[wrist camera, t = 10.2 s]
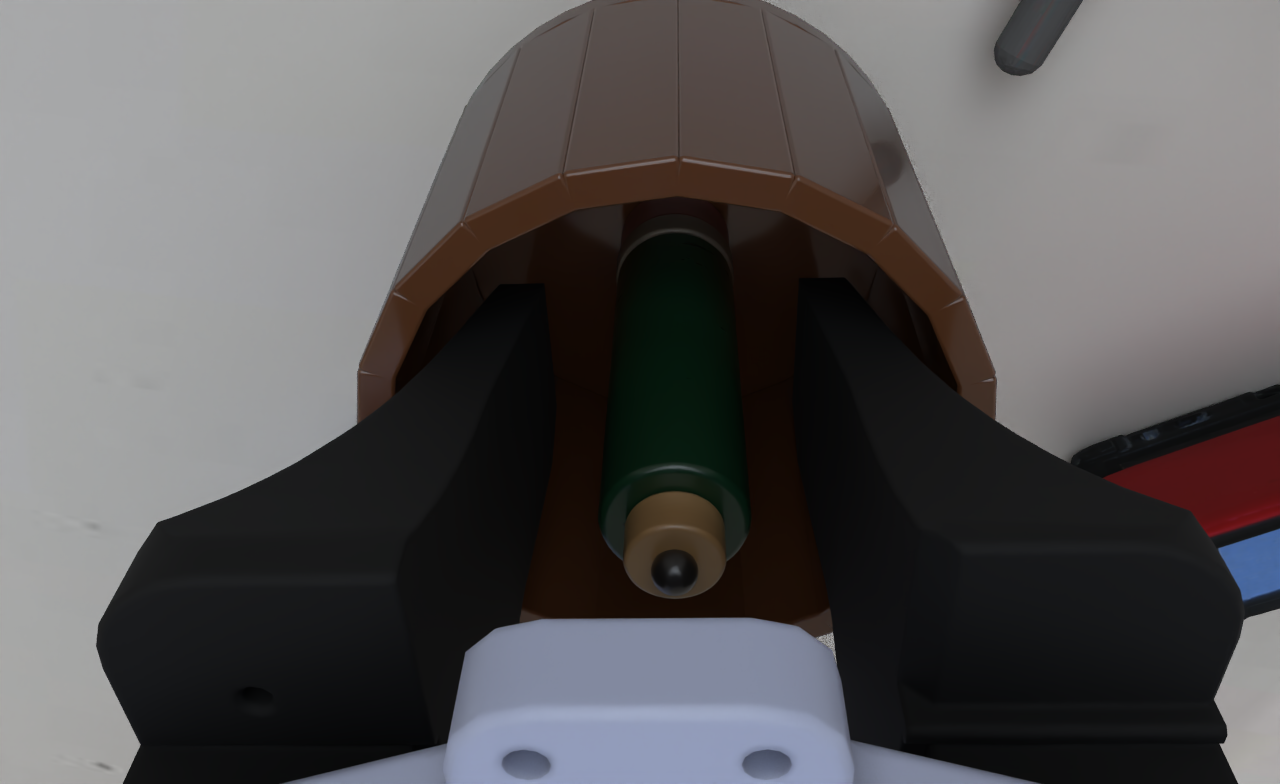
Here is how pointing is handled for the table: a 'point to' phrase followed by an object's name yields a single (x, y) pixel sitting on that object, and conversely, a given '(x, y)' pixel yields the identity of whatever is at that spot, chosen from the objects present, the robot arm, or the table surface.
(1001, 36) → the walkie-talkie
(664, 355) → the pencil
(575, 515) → the pencil cup
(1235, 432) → the handheld console
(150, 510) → the table surface
